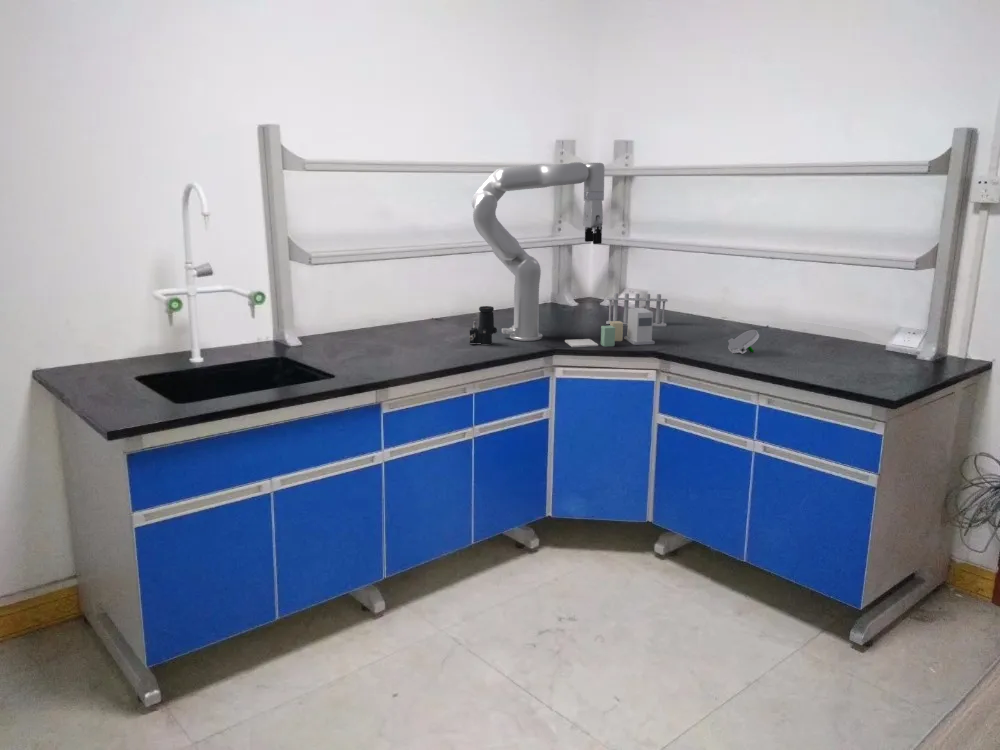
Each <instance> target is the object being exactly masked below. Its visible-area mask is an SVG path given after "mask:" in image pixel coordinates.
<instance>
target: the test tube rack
mask: <svg viewBox="0 0 1000 750" xmlns="http://www.w3.org/2000/svg"><path fill="white" fill-rule="evenodd" d="M640 295H641V294H640V293H635V295H634V296H635V297H630V293H628V292H627V293H624V297H619V292H614V294H613V297H607V299H606V300H607V301H609V304H608V305H609V310H608V311H609V312H608V320H606V324H610V321H618V310H619V309H618V307H619V301H624V305H623V306H624V307H623V321H621V322H622V323H623V324H627V325H626V326H628V308H629V303H630V301H632V302H633V301H634V308H640V302H645V309H647V310H649V311H651V310H650V309H651V302H656V304H655V305H656V307H655V322H653V326H652V327H667V322H665V310H666V309H665V308H666V306H665V304H666V302H668V301H669V299H667V298H662V294H661V293H658V294H656V298H651V294H650V293H646V294H645V298H644V297H643V298H642V297H640ZM612 302H613V309H612ZM661 304H662V306H661ZM661 307H662V313H661ZM612 310H613V311H612ZM612 312H613V313H612ZM612 315H613V316H612ZM660 318H661V321H660ZM606 324H605V325H606Z"/></svg>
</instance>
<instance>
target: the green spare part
mask: <svg viewBox="0 0 1000 750" xmlns="http://www.w3.org/2000/svg"><path fill="white" fill-rule="evenodd" d="M600 326H601V327H600V329H601V330H600V345H601V346H602V347H615V344H616V343H615V342H616V341H615V327H613V326H609V325H600Z"/></svg>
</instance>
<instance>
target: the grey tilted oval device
mask: <svg viewBox="0 0 1000 750" xmlns="http://www.w3.org/2000/svg"><path fill="white" fill-rule="evenodd" d="M759 338H760V334H759V333H758V331H757V329H750V330H747V331H744V332H743V333H741V334H739V335H737V337H735V338H733V337H731V338H730V339H728V340H727V342H728V346H727V349H728V350H729V352H731V353H732V354H733V353H734V354H737V353H740V354H741V355H743V354H745V353H746V352H747V351H749V352H750V353H751V352H752V353H754V351H755V350H754V349H753V348H752V346H753V344H755V343H756V342H757V341H758V339H759Z"/></svg>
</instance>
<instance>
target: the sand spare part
mask: <svg viewBox="0 0 1000 750" xmlns="http://www.w3.org/2000/svg"><path fill="white" fill-rule="evenodd" d="M622 322H623V321H621V320H617V321H613V320H611V321H610V325H608V326H613V327H615V342H623V339H624V338H623V337H624V336H623V334H624V333H623V332H624V325H623V323H622Z"/></svg>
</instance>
